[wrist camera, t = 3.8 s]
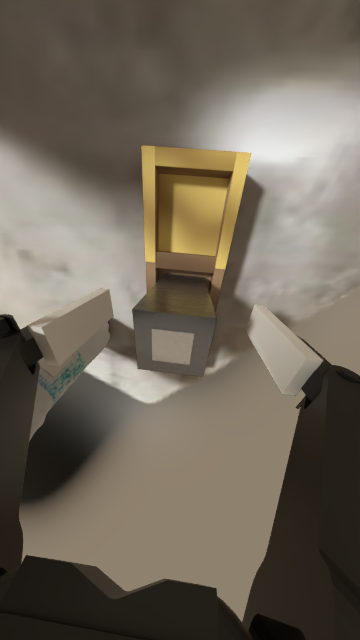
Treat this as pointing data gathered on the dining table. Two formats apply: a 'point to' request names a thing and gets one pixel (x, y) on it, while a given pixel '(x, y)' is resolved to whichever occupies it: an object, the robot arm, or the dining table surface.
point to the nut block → (175, 325)
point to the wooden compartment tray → (190, 211)
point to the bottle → (64, 375)
